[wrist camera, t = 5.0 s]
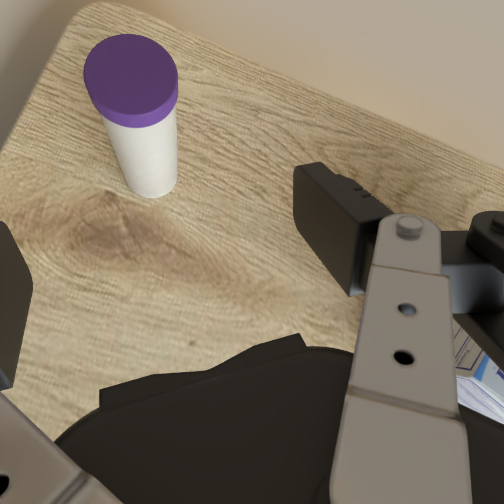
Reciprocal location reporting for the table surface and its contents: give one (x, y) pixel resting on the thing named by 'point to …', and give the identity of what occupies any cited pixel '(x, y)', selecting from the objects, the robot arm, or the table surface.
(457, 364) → the medicine box
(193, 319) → the table surface
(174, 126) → the glue stick
